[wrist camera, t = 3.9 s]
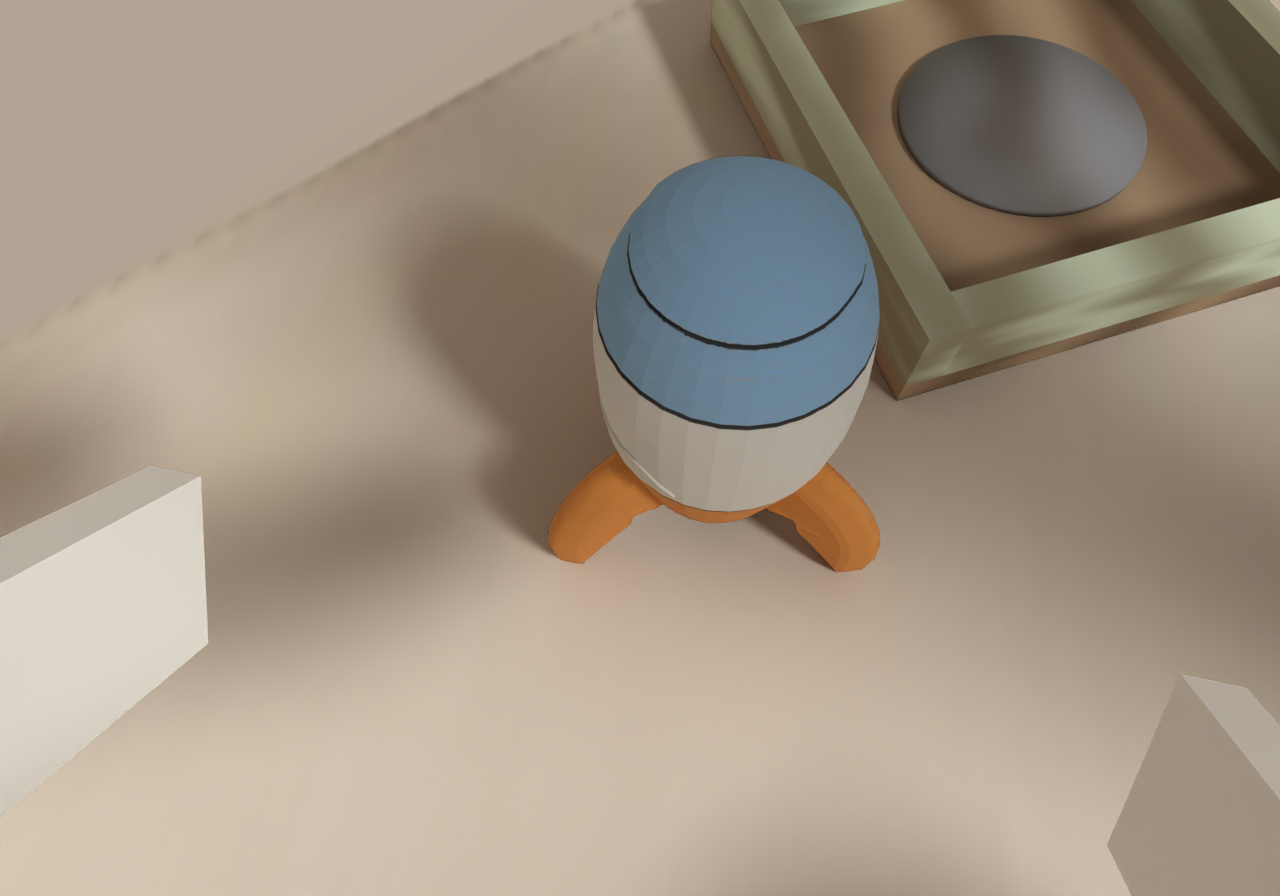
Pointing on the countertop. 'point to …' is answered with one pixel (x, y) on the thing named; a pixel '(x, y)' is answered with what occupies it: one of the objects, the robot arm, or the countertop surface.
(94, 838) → the countertop surface
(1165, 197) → the cradle
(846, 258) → the toy rocket
